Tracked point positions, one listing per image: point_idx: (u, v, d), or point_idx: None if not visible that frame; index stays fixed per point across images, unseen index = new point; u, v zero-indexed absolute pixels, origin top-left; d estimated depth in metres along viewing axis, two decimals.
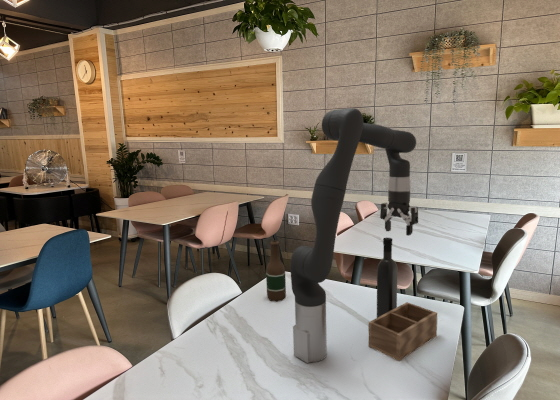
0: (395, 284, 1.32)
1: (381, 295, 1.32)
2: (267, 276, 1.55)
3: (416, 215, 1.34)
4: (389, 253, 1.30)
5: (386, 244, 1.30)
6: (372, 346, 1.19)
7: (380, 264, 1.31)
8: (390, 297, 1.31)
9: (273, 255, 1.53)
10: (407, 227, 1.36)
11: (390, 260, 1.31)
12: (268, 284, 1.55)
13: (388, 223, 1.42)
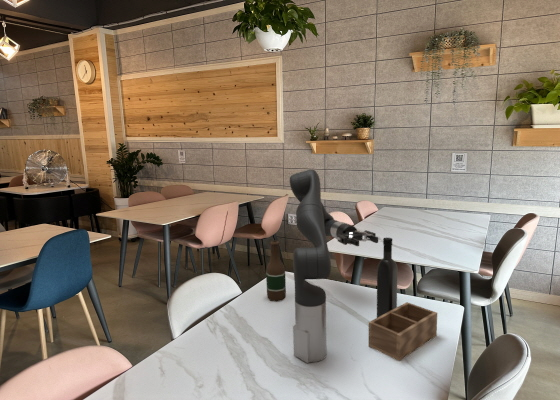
0: (395, 284, 1.32)
1: (381, 295, 1.32)
2: (267, 276, 1.55)
3: None
4: (389, 253, 1.30)
5: (386, 244, 1.30)
6: (372, 346, 1.19)
7: (380, 264, 1.31)
8: (390, 297, 1.31)
9: (273, 255, 1.53)
10: (372, 235, 1.46)
11: (390, 260, 1.31)
12: (268, 284, 1.55)
13: None
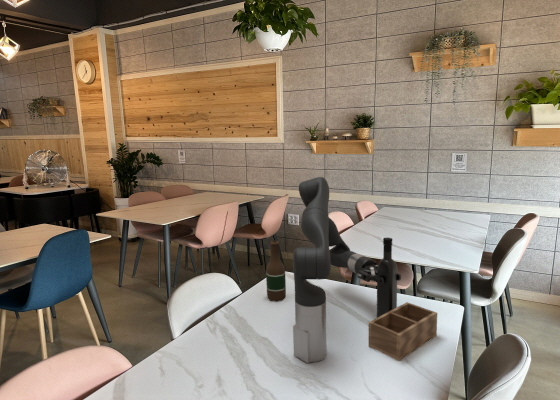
0: (395, 284, 1.32)
1: (381, 295, 1.32)
2: (267, 276, 1.55)
3: None
4: (389, 253, 1.30)
5: (386, 244, 1.30)
6: (372, 346, 1.19)
7: (380, 264, 1.31)
8: (390, 297, 1.31)
9: (273, 255, 1.53)
10: None
11: (390, 260, 1.31)
12: (268, 284, 1.55)
13: None
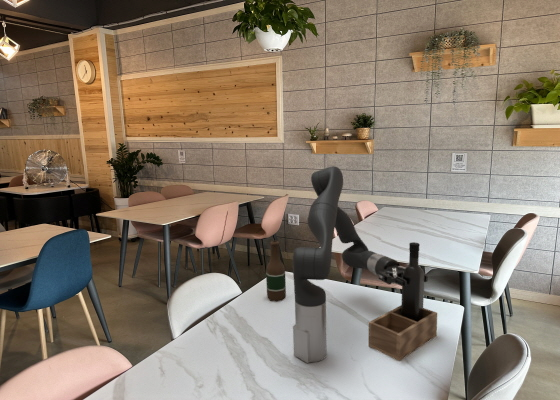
0: (422, 293, 1.22)
1: (406, 305, 1.22)
2: (267, 276, 1.55)
3: None
4: (416, 259, 1.20)
5: (413, 249, 1.19)
6: (372, 346, 1.19)
7: (406, 271, 1.21)
8: (417, 307, 1.20)
9: (273, 255, 1.53)
10: None
11: (417, 267, 1.20)
12: (268, 284, 1.55)
13: None
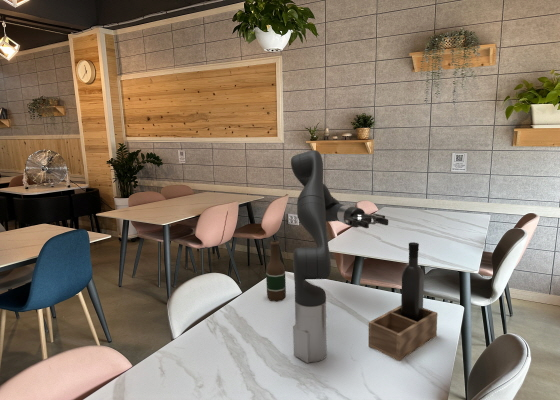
0: (421, 293, 1.22)
1: (406, 305, 1.22)
2: (267, 276, 1.55)
3: None
4: (415, 259, 1.20)
5: (412, 249, 1.20)
6: (372, 346, 1.19)
7: (405, 271, 1.21)
8: (416, 307, 1.20)
9: (273, 255, 1.53)
10: (382, 218, 1.39)
11: (416, 267, 1.20)
12: (268, 284, 1.55)
13: None
